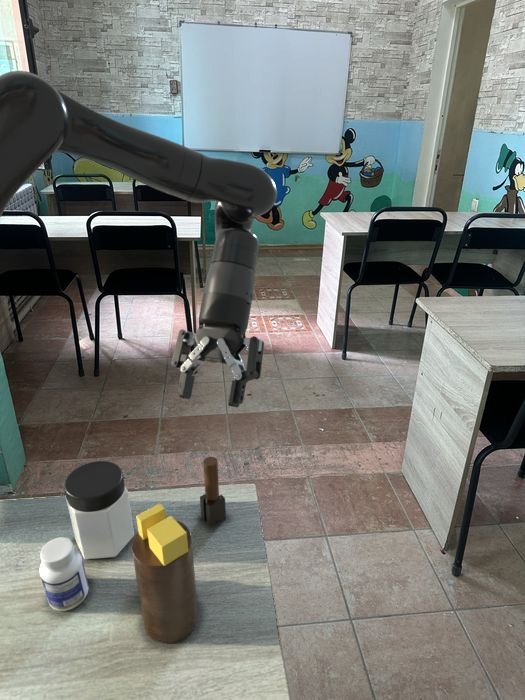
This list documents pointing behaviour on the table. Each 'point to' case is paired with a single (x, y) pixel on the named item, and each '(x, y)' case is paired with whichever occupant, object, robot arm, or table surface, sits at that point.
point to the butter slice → (150, 519)
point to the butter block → (167, 540)
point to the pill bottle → (63, 574)
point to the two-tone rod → (211, 479)
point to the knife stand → (213, 510)
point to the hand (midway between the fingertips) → (208, 402)
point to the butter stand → (166, 591)
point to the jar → (99, 509)
